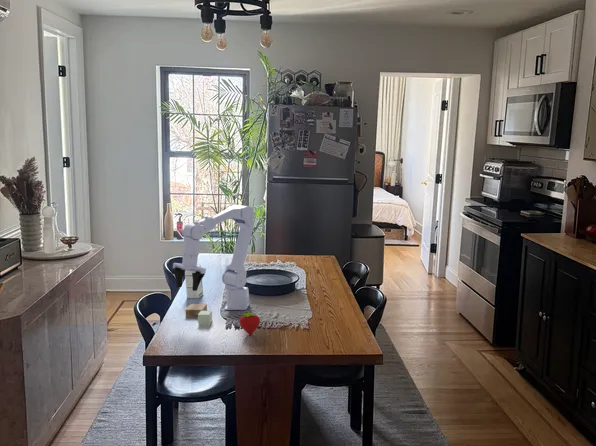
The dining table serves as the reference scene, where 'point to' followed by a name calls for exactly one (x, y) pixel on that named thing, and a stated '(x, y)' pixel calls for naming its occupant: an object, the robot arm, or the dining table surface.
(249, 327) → the strawberry
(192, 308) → the block
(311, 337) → the dining table surface
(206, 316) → the green cube
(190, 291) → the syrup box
